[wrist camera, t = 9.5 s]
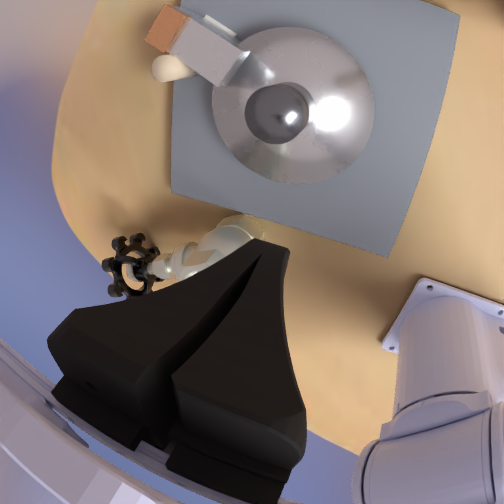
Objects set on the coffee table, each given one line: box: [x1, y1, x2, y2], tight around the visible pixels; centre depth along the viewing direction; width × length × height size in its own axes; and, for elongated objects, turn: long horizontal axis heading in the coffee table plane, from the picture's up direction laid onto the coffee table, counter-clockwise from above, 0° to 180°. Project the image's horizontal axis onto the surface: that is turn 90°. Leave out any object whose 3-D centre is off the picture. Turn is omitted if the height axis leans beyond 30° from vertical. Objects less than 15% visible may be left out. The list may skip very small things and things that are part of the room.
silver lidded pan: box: [144, 4, 374, 185], centre depth 15 cm, size 14×9×4 cm, turn 56°
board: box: [151, 0, 460, 258], centre depth 16 cm, size 16×16×4 cm
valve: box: [102, 213, 265, 300], centre depth 24 cm, size 7×7×12 cm
